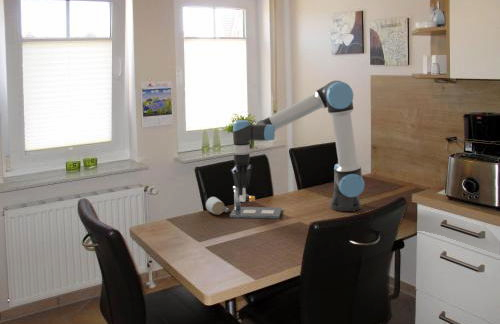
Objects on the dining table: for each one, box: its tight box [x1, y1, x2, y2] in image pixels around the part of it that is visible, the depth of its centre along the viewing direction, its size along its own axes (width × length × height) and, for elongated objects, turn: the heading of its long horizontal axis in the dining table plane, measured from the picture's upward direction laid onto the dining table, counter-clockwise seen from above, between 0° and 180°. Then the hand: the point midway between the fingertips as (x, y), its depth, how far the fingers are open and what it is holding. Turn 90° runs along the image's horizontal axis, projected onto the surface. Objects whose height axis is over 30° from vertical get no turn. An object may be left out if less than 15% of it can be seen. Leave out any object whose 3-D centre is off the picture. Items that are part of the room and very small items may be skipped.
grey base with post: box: [229, 185, 283, 220], centre depth 256 cm, size 24×14×13 cm, turn 82°
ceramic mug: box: [205, 196, 229, 216], centre depth 260 cm, size 11×8×8 cm
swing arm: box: [238, 193, 256, 203], centre depth 254 cm, size 11×3×2 cm, turn 37°
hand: (242, 201), depth 251 cm, fingers closed
